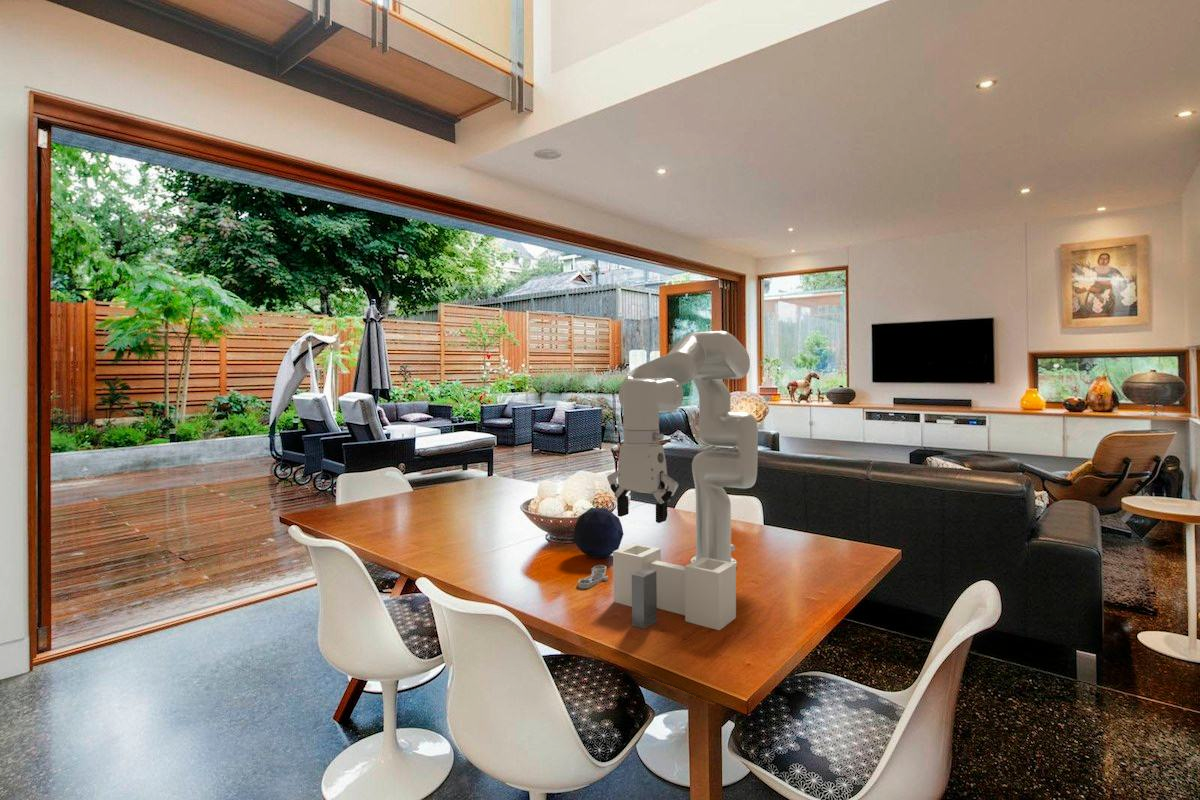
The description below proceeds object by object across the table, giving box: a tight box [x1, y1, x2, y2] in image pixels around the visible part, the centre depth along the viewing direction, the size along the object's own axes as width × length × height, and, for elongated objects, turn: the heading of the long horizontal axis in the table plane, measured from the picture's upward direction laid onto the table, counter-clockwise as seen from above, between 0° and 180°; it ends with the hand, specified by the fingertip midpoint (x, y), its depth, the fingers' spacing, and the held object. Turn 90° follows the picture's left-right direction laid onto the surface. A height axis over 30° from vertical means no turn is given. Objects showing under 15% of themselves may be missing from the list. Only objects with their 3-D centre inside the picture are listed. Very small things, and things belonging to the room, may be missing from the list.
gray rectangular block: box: [631, 568, 658, 630], centre depth 128 cm, size 5×3×11 cm, turn 143°
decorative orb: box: [573, 507, 624, 559], centre depth 176 cm, size 14×15×15 cm
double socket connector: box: [612, 543, 737, 631], centre depth 136 cm, size 8×27×12 cm, turn 52°
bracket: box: [577, 564, 609, 590], centre depth 157 cm, size 8×2×15 cm
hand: (641, 518), depth 128 cm, fingers open, 9 cm apart
